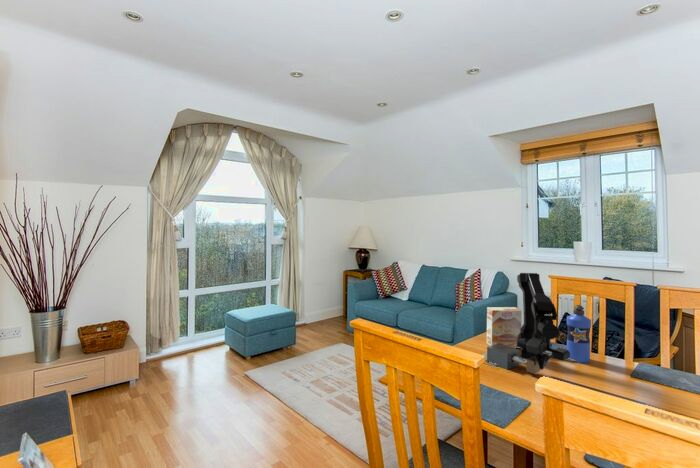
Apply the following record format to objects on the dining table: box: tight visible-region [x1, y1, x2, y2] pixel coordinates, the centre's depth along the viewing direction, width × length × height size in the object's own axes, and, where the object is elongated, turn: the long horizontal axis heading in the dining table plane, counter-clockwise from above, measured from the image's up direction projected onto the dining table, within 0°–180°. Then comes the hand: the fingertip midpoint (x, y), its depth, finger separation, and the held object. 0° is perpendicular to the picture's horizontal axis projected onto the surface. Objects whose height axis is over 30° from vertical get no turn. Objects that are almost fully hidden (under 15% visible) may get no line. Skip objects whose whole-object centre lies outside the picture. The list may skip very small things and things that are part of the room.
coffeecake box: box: [486, 306, 522, 348], centre depth 177 cm, size 15×7×20 cm, turn 91°
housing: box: [486, 343, 521, 371], centre depth 156 cm, size 9×10×7 cm
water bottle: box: [566, 304, 592, 364], centre depth 160 cm, size 9×9×25 cm
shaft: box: [511, 355, 541, 374], centre depth 150 cm, size 5×18×5 cm, turn 33°
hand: (541, 369), depth 141 cm, fingers closed
